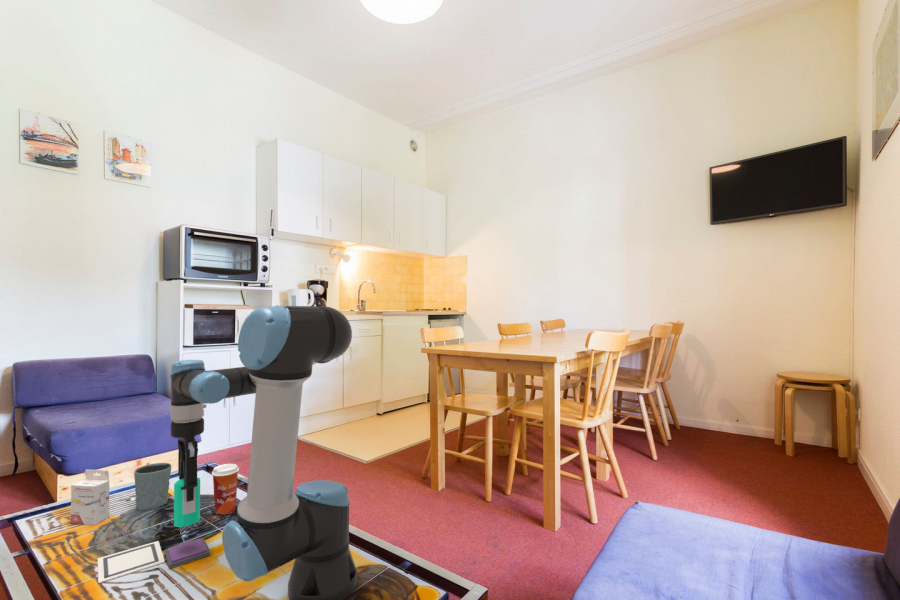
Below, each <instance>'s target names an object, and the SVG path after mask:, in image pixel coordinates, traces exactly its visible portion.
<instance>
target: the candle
mask: <svg viewBox="0 0 900 600" xmlns="http://www.w3.org/2000/svg"><path fill="white" fill-rule="evenodd" d="M197 483H198V485H197V486H196V509H195V512H192V513H188V514H184V515H183V490H181V487H184V478H183V479H181V480H180V479H179V480H176V482H174V483H173V526H174V527H177V528H185V527H189V526H193V525H195V524H196V523H198V522H199V521H201V478H200V477H197Z"/></svg>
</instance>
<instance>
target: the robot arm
mask: <svg viewBox="0 0 900 600" xmlns="http://www.w3.org/2000/svg"><path fill="white" fill-rule="evenodd" d="M352 330H353V329H352V325H351V323H350V321H349V320H348V318H347V317H346V316H345V315H344V314H343V313H342V312H341V311H339V310H337V309H336V308H334V307H329V306H327V305H326V306H324V305H317V306H316V305H315V306H314V305H313V306H312V305H311V306H310V305H309V306H308V305H306V306H305V305H278V304H277V305H271V306H270V305H269V306H262V307H261V306H260V307H257V308H256V309H254V310H252V311H251V312H250V313H249V315H248V316H246V318H245V319H244V321H243V323H242V325H241V327H240V330H239V335H238V339H237V340H238V342H237V348H238V349H237V351H238V352H239V360H240V362H241V363H242V365H243V366H240V367H239V366H238V367H230V368H221V369H212V370H206V368H205V362H204V360H201V359H184V360H177V361H174V362H173V363H172V364H171V369H170V375H169V377H170V420H171V421H172V422H171V423H170V436H171V437H172V438H176V439H177V449H178V450H177V452H178V454H177V457H178V458H177V459H178V461H177V462H178V463H177V466H178V467H177V468H178V469H177V471H178V472H177V475H178V479H179V480H181V479H183V478H184V487H181V490H183V515H184V514H188V513H192V512H195V509H196V486H197V485H198V483H197V478H198V451H199V448H198V441H197V440H196V438H195V437H196V436H198V435H201V434H203V433H204V431H205V419H204V416H205V410H204V409H206V408H207V404H217V403H219V402H220V401H222V400H224V399H229V398H235V397H240V396H246V395H255V398H254V407H253V408H254V409H253V423H252V432H251V433H252V434H251V444H250V454H249V455H250V458H249V467H248V468H249V469H248V480H247V490H246V492H247V493H246V495H245V496H244V497H243V498H242V499H241V500H240V501H239V502H238V505H237V508H236V509H237V510H236V519H234V520H233V519H231V520H230V521H229V522H228V523H226V524H225V525H224V527H223V528H222V535H221V540H222V547H223V552H224V555H225V558H226V561H227V563H228V566H229V567H230V570H231V571H232V572H233V574H234V575H235V576H236V578H238V579H239V580H241V581H243V582H252V581H254V580H257V579H258V578H261V577H263V576H264V577H265V576H267V575H268V573H271V572H272V571H275V570H276V569H279V568H280V567H283V566H285V565H286V564H288V563H290V562H292V561H293V560H294V562H293V566H292V570H291V573H290V575H289V579H288V582H287V597H288V600H345V599H347V598H348V597H349V596H350V595H351V594H352V593H353V592H354V591H355V589H356V586H357V584H358V572H357V567H356V563H355V562H354V558H353V555H352V553H351V550H350V536H349V535H350V503H351V502H350V500H349V499H350V496H349V491H348V487H346V485H345V484H343V483H341V482H339V481H335V480H327V479H326V480H325V479H320V480H319V479H318V480H310V481H305V482H302V483H300V484H299V485H297V486H296V489H295V491H294V492H293V490H294V480H295V479H294V478H295V471H296V470H295V469H296V458H297V448H298V439H299V438H298V437H299V427H300V417H301V416H300V415H301V405H302V395H303V384H304V383H305V382H306V381H307V380H308V379H310V378H311V377H312V374H313V373H312V372H313V365H316V364H321V365H323V364H327V363H330V362H331V361H333V360H336V359H337V358H339V357H341V356H342V355H344V354H345V353H346V351H347V350H348V349H349V347H350V345H351V343H352V338H353V331H352Z"/></svg>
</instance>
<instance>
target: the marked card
mask: <svg viewBox="0 0 900 600" xmlns="http://www.w3.org/2000/svg"><path fill="white" fill-rule="evenodd" d="M165 563H166V562H165V556H164V555H163V551H162V547H161V545H160V541H159V540H156V541H154V542H150V543H147V544H143V545H139V546H135V547H132V548H129V549H125V550H122V551H119V552H116V553H112V554H109V555H106V556H101V557H98V558H97V583H100V584H103V583H106V582H109V581H112V580H115V579H118V578H121V577H124V576H128V575H131V574H134V573H137V572H140V571H143V570H147V569H149V568H153V567H156V566H159V565H161V564H165Z"/></svg>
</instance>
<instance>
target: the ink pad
mask: <svg viewBox="0 0 900 600" xmlns="http://www.w3.org/2000/svg"><path fill="white" fill-rule="evenodd" d="M164 553H165V554H164V558H165V559H166V562H167V563H166V564H167V566H168V569H170V570H171V569H174V568H176V567H180V566H182V565H186V564H189V563H192V562H194V561H198V560H200V559H204V558H206V557H210V556H211V550H210V547H209V546H208V544H207V542H206V540H205V538H204V537H201V538H197V539H193V540H190V541H186V542H184V543H180V544H178V545H177V544H176V545H174V546H171V547H167V548H166V549H164Z"/></svg>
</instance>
